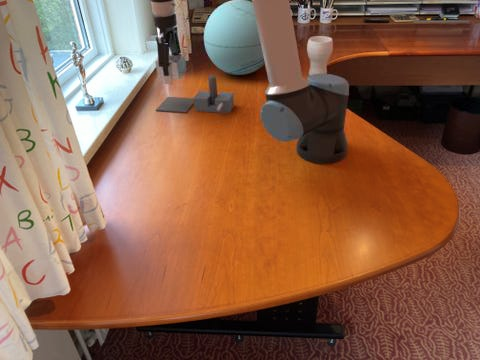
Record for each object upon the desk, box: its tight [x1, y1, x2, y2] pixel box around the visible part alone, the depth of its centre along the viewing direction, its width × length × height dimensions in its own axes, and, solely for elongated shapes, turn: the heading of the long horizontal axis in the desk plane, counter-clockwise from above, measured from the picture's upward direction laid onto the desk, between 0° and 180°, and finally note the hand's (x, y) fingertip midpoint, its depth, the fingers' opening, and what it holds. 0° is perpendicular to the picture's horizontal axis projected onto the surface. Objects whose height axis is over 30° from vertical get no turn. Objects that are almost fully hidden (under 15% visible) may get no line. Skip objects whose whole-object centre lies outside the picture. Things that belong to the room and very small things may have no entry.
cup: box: [306, 35, 334, 76], centre depth 170 cm, size 11×11×15 cm
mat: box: [155, 96, 194, 114], centre depth 153 cm, size 12×12×1 cm
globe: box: [203, 0, 265, 76], centre depth 171 cm, size 30×30×30 cm
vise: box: [192, 75, 235, 114], centre depth 145 cm, size 12×13×12 cm
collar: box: [154, 53, 187, 80], centre depth 144 cm, size 8×8×6 cm
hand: (173, 79), depth 147 cm, fingers closed on collar, 8 cm apart
